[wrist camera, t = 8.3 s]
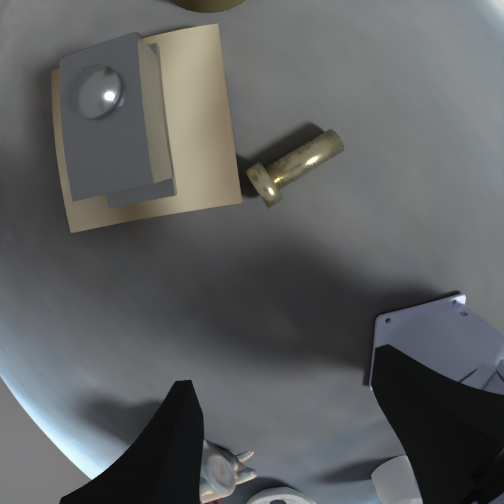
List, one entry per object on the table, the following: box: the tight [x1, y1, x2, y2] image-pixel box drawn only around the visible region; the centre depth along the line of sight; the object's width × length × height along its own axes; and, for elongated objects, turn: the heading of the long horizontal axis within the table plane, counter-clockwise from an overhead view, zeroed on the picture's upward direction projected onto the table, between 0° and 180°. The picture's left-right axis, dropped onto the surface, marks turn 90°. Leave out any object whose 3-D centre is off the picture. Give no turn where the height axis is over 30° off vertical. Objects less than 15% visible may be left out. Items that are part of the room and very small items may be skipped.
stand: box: [51, 24, 242, 233], centre depth 16 cm, size 11×11×2 cm
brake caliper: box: [199, 439, 257, 504], centre depth 22 cm, size 11×11×12 cm
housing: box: [59, 32, 178, 209], centre depth 13 cm, size 9×4×5 cm, turn 7°
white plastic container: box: [371, 455, 423, 504], centre depth 25 cm, size 6×12×6 cm
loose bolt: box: [244, 129, 344, 208], centre depth 17 cm, size 6×3×3 cm, turn 122°
